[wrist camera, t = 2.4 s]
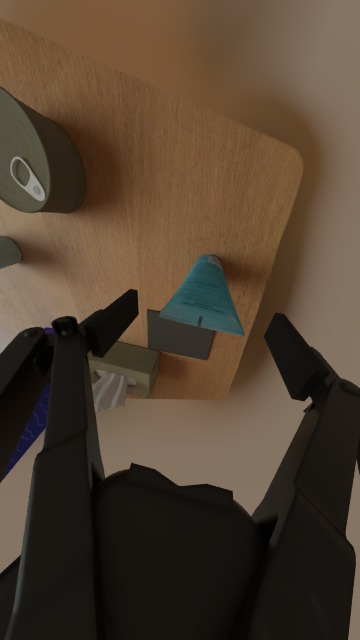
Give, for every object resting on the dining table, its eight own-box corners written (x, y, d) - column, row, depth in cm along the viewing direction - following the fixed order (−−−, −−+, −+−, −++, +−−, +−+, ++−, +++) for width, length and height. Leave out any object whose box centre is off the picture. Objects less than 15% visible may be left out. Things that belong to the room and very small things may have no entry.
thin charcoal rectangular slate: (216, 321, 35) (216, 322, 34) (206, 359, 41) (206, 360, 41) (147, 309, 36) (147, 310, 36) (148, 347, 43) (148, 348, 43)
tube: (187, 278, 31) (158, 339, 15) (189, 252, 28) (158, 291, 12) (225, 283, 30) (238, 352, 14) (231, 256, 27) (256, 304, 11)
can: (31, 85, 21) (-37, 34, 15) (100, 177, 25) (65, 164, 19) (6, 164, 26) (-52, 148, 21) (65, 229, 30) (31, 231, 25)
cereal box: (46, 327, 46) (-151, 449, 21) (63, 329, 46) (-120, 460, 21) (71, 375, 58) (-37, 491, 33) (86, 378, 57) (-14, 499, 32)
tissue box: (102, 360, 50) (61, 409, 37) (97, 336, 44) (47, 384, 31) (159, 374, 48) (138, 431, 35) (161, 351, 43) (137, 408, 30)
